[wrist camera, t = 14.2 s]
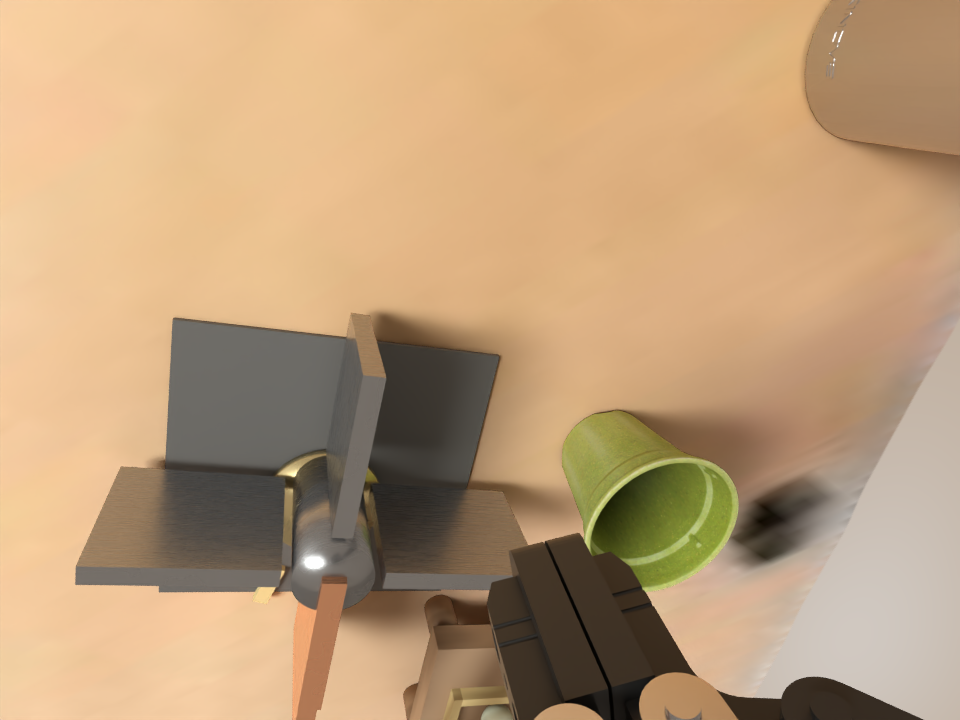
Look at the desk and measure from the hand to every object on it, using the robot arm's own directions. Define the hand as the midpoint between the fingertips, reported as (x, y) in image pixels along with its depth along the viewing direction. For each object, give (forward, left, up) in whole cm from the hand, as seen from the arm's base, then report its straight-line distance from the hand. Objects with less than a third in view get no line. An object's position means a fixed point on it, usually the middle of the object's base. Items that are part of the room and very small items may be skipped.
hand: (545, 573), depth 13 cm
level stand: (-11, +29, -25) cm, 40 cm away
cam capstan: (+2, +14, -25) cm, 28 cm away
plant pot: (-16, +11, -25) cm, 32 cm away
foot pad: (+2, +14, -25) cm, 28 cm away
